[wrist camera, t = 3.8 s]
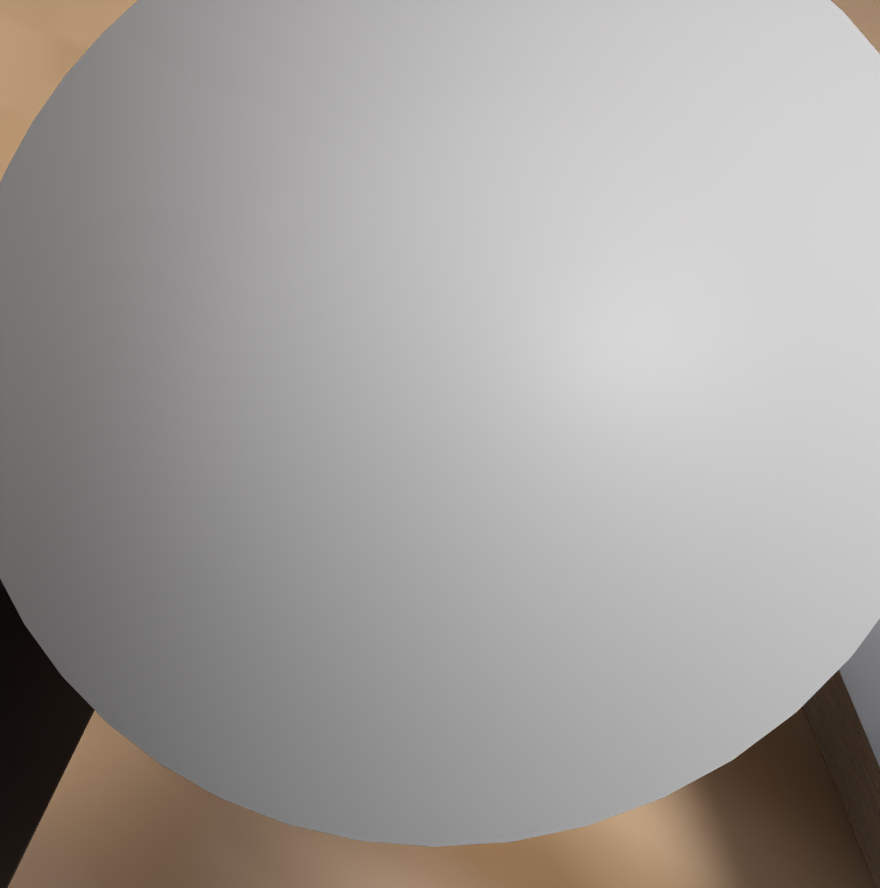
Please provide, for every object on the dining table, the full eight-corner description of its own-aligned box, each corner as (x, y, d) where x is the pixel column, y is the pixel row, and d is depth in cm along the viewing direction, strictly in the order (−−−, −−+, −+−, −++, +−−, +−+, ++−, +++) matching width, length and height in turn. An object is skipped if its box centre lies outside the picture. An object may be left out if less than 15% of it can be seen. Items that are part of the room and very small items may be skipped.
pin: (463, 643, 16) (40, 979, 2) (414, 477, 17) (-97, 63, 3) (633, 590, 16) (1207, 647, 2) (573, 425, 17) (717, -265, 3)
